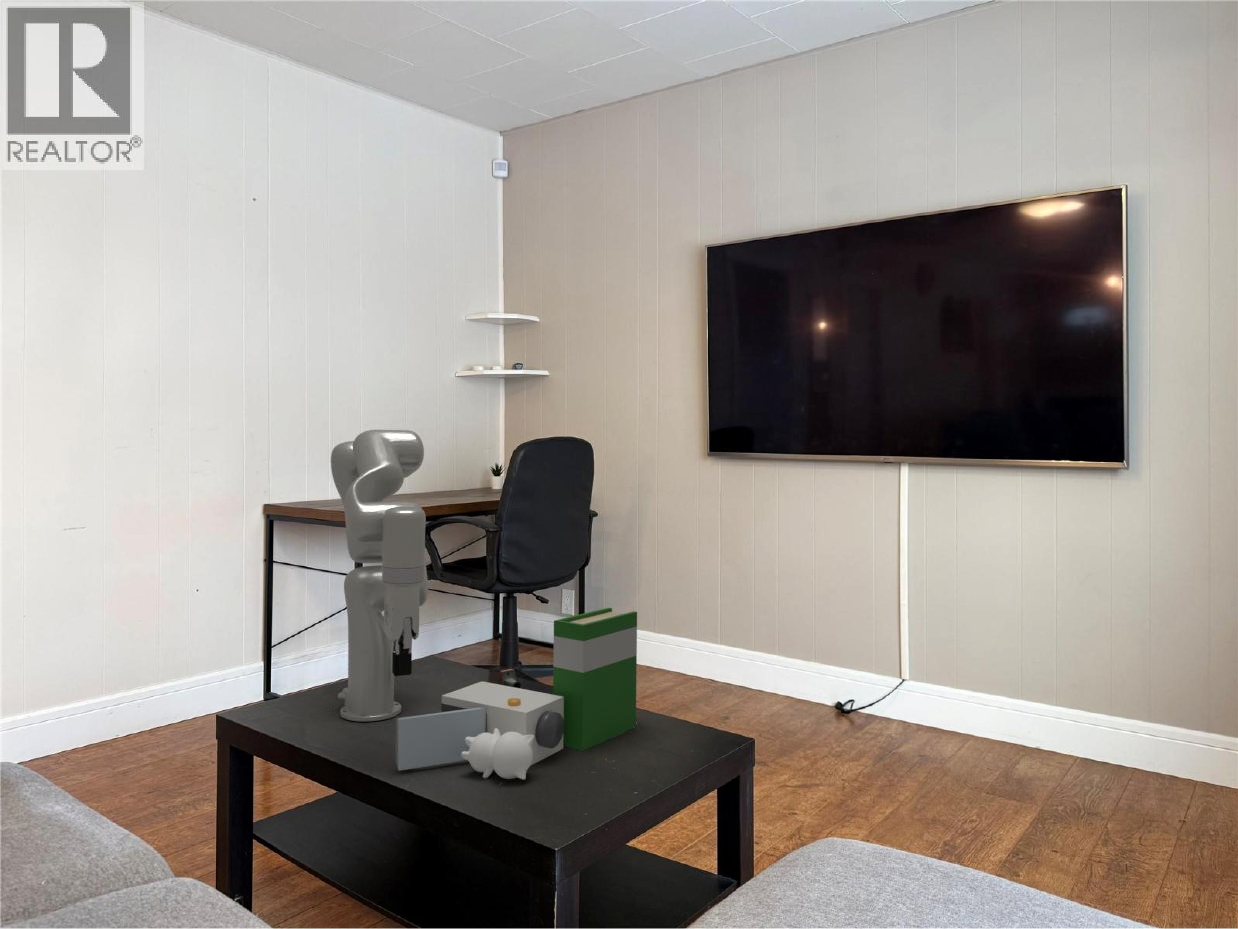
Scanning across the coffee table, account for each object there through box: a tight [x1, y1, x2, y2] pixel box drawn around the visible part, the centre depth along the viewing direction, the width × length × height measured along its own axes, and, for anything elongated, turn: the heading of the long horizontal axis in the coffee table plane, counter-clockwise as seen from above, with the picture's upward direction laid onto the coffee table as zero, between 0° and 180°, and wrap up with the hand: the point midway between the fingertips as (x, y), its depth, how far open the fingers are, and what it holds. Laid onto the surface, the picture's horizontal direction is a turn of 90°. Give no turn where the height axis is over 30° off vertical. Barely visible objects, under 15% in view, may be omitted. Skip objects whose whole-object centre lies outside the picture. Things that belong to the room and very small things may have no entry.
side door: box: [395, 707, 486, 772], centre depth 160 cm, size 16×3×9 cm, turn 117°
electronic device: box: [487, 667, 522, 689], centre depth 199 cm, size 4×10×8 cm, turn 43°
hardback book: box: [552, 607, 638, 752], centre depth 177 cm, size 18×7×24 cm, turn 144°
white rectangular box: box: [440, 681, 564, 767], centre depth 168 cm, size 22×12×11 cm, turn 60°
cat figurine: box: [461, 728, 535, 781], centre depth 156 cm, size 9×11×12 cm
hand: (401, 674), depth 162 cm, fingers closed
